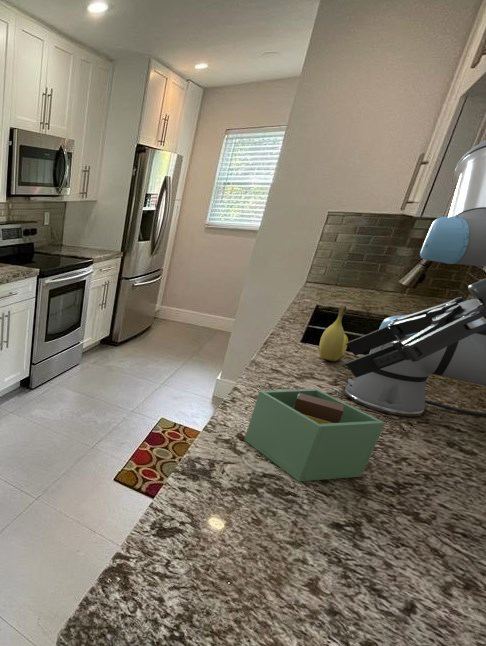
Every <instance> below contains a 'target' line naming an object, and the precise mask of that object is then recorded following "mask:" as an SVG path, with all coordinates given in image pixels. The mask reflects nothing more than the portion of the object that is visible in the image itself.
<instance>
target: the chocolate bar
mask: <svg viewBox="0 0 486 646" xmlns="http://www.w3.org/2000/svg"><path fill="white" fill-rule="evenodd" d="M293 409H295V410H296V411H298V412H300V413H301V414H303V415H305V416H307V417H308V418H310V419H312V420H314V421H315V422H317V423H319V424H328V423H339V422H340V419H341V417H342V414H343V412H344V405H343V404H339V403H336V402H332V401H328V400H324V399H321V398H317V397H313V396H310V395H306V394H302V393H299V394H298V397H297V400H296V403H295V405H294V407H293Z"/></svg>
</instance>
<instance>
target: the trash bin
mask: <svg viewBox="0 0 486 646" xmlns="http://www.w3.org/2000/svg"><path fill="white" fill-rule="evenodd" d="M299 393H302V394H306V395H310V396H313V397H317V398H321V399H324V400H328V401H332V402H336V403H339V404H343V405H344V412H343V414H342V417H341V419H340V422H339V423H328V424H319V423H317V422H315V421H314V420H312V419H310V418H308V417H307V416H305V415H303V414H301V413H300V412H298V411H296V410H295V409H293V407H294V405H295V403H296V400H297V397H298V394H299ZM385 424H386V422H384V421H382V420H380V419H378V418H376V417H374V416H372V415H370V414H368V413H366V412H364V411H362V410H360V409H358V408H357V407H355V406H352V405H350V404H348V403H346V402H345V401H343V400H340V399H338V398H336V397H334V396H332V395H330V394H328V393H326V392H325V391H322V390H320V389H318V388H306V389H305V388H303V389H277V390H259V392H258V394H257V398H256V400H255V404H254V407H253V410H252V413H251V417H250V421H249V424H248V427H247V429H246V430H247V431H246V433H245V435H244V436H245V437H244V439H243V440H244V441H245V442H246V443H247V444H249V445H250V446H251V447H253V448H254V449H256V450H257V451H258V452H259V453H261V455H263V456H264V457H266V458H267V459H269V460H270V461H271V462H272V463H274V465H276V466H278V467H279V468H280V469H282V470H283V471H284V472H285V473H287V474H288V475H289V476H291V477H292V478H293V479H294V480H296V481H297V482H310V481H323V480H333V479H335V480H337V479H349V478H360V477H362V475H363V473H364V471H365V469H366V467H367V465H368V462H369V460H370V458H371V456H372V453H373V451H374V449H375V446H376V445H377V443H378V440H379V437H380V436H381V433H382V431H383V429H384V427H385Z"/></svg>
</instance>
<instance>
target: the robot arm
mask: <svg viewBox="0 0 486 646" xmlns="http://www.w3.org/2000/svg"><path fill="white" fill-rule="evenodd" d="M453 181H454V184H455V185H456V189H455V191H454V196H453V199H452V203H451V206H450V209H449V212H448V216H441V217H437V218H436V219H434V220H433V221H432V223H431V225H430V227H429V229H428V232H427V234H426V236H425V239H424V242H423V243H422V247H421V250H420V252H419V256H420V258H421V259H422V260H424V261H430V262H437V263H444V264H446V265H464V266H474V267H485V268H486V139H485V140H482V141H481V142H480V143H478V144H476V145H475V146H473V147H471V149H469V150H468V151H467V152H466V153H465V154H464V155H463V156H462V157H461V158H460V159H459V161H458V162H457V164H456V166H455V169H454V172H453ZM467 290H468V292H469V293H470V295H471V296H472V297H473V298H471V299H466V300H465V299H464V298H463V296H460V297H456V298H454V299H452V300H449V301H447V302H444V303H441V304H437V305H436V306H435V305H434V306H432V307H429V308H426V309H423V310H420V311H416V312H414V313H411V314H403V315H402V314H401V315H392V316H389V317H387V318H384V319H383V321H382V322H381V323H380V326H379V329H376V330H373V331H371V332H369V333H367V334H365V335H362V336H360V337H357V338H355V339H352V340H349V341H348V342H347V343H346V345H347V348H348V349H349V350H350V351H351V353H352V354H353V355H354V356H355V357H356V356H358V355H361V354H363V353H366V352H368V351H369V353H367V354H365V355H362V356H359V357H357V358H353V359H352V360H349V361H347V362H345V366H346V367H347V369H349V371H350V372H351V373H352V375H353V376H354V377H353V378H352V379H351V378H347V385H346V386H345V388H344V390H343V394H344V396H345V397H346V398H347V399H349V400H350V401H352V402H353V403H356V404H359V405H360V406H363V407H365V408H369V409H371V410H375V411H377V412H380V413H384V414H389V415H393V416H399V417H407V418H408V417H411V418H412V417H413V418H414V417H419V416H422V415H423V413H424V411H425V410H426V409H425V408H426V405H431V406H434V407H439V408H441V409H446V410H449V411H453V412H457V413H462V414H469V415H475V416H481V417H486V412H482V411H474V410H468V409H462V408H457V407H453V406H450V405H446V404H442V403H439V402H435V401H431V400H427V399H426V382H427V380H428V378H429V376H430V375H435V376H439V377H444V378H448V379H453V380H457V381H462V382H466V383H470V384H476V385H479V386H484V387H485V388H486V278H483V279H481V280H479V281H476V282H473V283H472V284H471V283H470V284H469V285H468V287H467Z"/></svg>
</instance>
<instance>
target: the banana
mask: <svg viewBox="0 0 486 646" xmlns="http://www.w3.org/2000/svg"><path fill="white" fill-rule="evenodd" d="M346 312H347V306H346V305H341V306H340V307H339V310H338V313H337V314H338V315H337V317H336V319H335V321H334V322H332V324H330V325H329V326H328V327H326V329H325V330H324V331H323V333H322V335H321V337H320V341H319V347H318V349H319V356H320V358H322V359H323V360H326V361H332V362H335V361H338V360H339V359H340V358H342V356H344V354H345V353H346V351H347V348H348V346H347V345H346V343H347V342H349V337H348V336H347V334H346V333H345V331H344V327H343V325H342V320H343V316H344V314H346Z"/></svg>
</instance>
